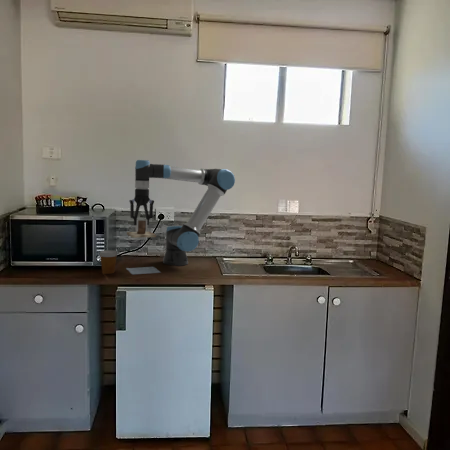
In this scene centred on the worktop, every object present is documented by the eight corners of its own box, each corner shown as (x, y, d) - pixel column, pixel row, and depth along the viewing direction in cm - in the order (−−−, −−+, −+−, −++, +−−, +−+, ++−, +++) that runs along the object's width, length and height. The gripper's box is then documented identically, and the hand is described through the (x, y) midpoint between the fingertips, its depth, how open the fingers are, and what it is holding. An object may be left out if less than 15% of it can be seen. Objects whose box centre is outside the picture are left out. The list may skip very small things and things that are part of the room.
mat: (153, 267, 272) (153, 266, 272) (161, 273, 258) (161, 272, 258) (125, 269, 265) (125, 268, 265) (132, 275, 252) (132, 274, 252)
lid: (149, 233, 267) (149, 219, 266) (156, 237, 256) (156, 222, 255) (126, 234, 262) (127, 219, 261) (132, 237, 250) (132, 222, 249)
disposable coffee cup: (112, 276, 249) (112, 253, 248) (96, 274, 251) (96, 252, 250) (120, 272, 258) (120, 250, 257) (104, 270, 260) (104, 249, 259)
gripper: (127, 188, 248) (127, 232, 251) (159, 189, 256) (158, 231, 259) (124, 187, 255) (123, 230, 258) (155, 188, 263) (154, 229, 265)
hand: (141, 230), depth 258 cm, fingers closed on lid, 4 cm apart
